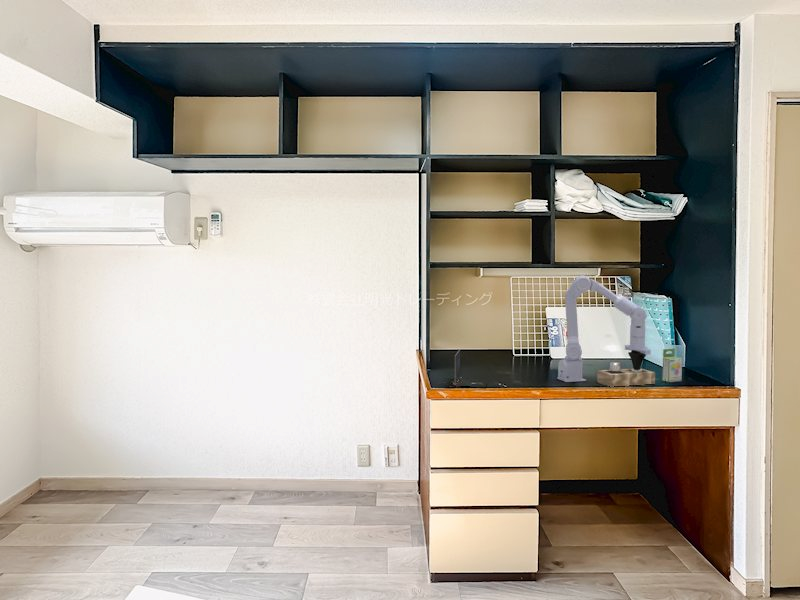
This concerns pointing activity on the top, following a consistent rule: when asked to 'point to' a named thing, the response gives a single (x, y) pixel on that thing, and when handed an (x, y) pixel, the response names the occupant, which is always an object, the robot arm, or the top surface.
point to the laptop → (457, 366)
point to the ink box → (671, 367)
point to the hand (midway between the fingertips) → (636, 369)
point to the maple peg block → (625, 377)
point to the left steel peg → (615, 367)
